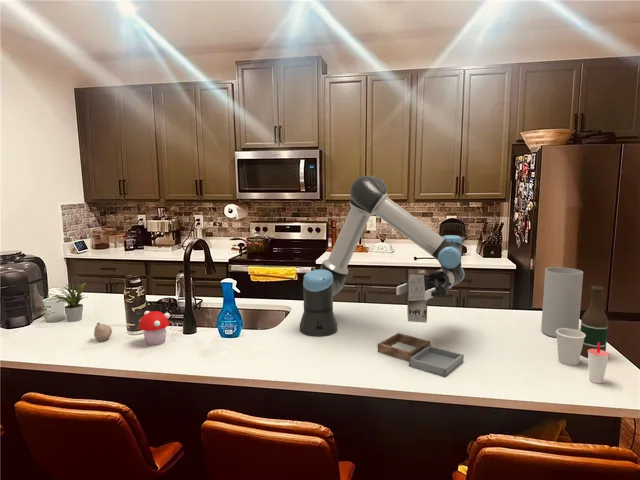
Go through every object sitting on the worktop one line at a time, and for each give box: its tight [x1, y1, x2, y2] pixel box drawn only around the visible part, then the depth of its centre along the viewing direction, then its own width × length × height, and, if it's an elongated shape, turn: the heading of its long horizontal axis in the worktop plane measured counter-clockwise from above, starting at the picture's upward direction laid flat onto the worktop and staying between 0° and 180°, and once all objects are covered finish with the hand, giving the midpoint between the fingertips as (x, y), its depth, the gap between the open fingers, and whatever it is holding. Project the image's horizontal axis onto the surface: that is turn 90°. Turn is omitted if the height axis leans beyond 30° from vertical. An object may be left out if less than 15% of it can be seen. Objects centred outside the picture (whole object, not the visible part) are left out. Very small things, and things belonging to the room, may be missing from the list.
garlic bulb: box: [93, 322, 113, 342], centre depth 161 cm, size 7×6×8 cm
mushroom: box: [138, 310, 171, 347], centre depth 157 cm, size 11×11×12 cm
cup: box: [587, 342, 610, 385], centre depth 125 cm, size 5×5×12 cm
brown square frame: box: [377, 332, 431, 362], centre depth 149 cm, size 13×14×3 cm
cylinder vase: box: [540, 266, 584, 339], centre depth 163 cm, size 12×12×25 cm
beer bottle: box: [579, 285, 609, 359], centre depth 143 cm, size 8×8×24 cm
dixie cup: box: [556, 328, 586, 367], centre depth 139 cm, size 8×8×10 cm
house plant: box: [51, 282, 89, 323], centre depth 185 cm, size 14×14×16 cm
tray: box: [408, 345, 465, 378], centre depth 138 cm, size 12×14×2 cm
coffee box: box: [406, 268, 429, 324], centre depth 143 cm, size 9×6×16 cm
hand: (411, 293), depth 140 cm, fingers closed on coffee box, 9 cm apart
